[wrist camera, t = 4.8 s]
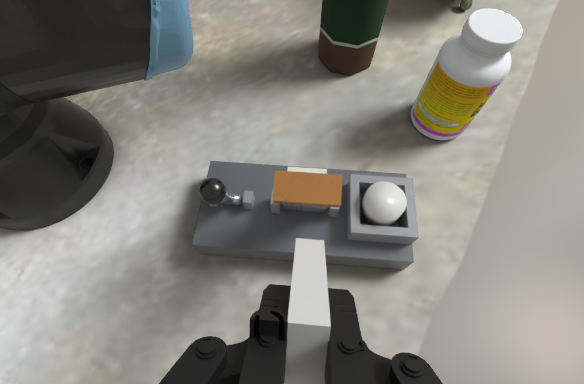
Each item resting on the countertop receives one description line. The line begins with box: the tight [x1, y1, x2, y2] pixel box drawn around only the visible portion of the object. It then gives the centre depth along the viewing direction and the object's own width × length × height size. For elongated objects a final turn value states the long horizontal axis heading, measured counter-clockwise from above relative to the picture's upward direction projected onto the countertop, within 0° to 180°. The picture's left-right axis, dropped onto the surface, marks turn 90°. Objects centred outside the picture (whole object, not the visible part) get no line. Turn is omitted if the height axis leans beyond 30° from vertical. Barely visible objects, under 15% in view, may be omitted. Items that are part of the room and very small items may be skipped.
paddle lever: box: [272, 170, 343, 212], centre depth 25 cm, size 2×4×12 cm, turn 85°
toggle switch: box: [199, 177, 243, 205], centre depth 27 cm, size 2×2×8 cm
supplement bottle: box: [411, 9, 523, 140], centre depth 34 cm, size 7×7×13 cm
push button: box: [361, 181, 407, 226], centre depth 29 cm, size 4×4×2 cm
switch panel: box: [192, 161, 419, 270], centre depth 32 cm, size 9×20×5 cm, turn 85°
